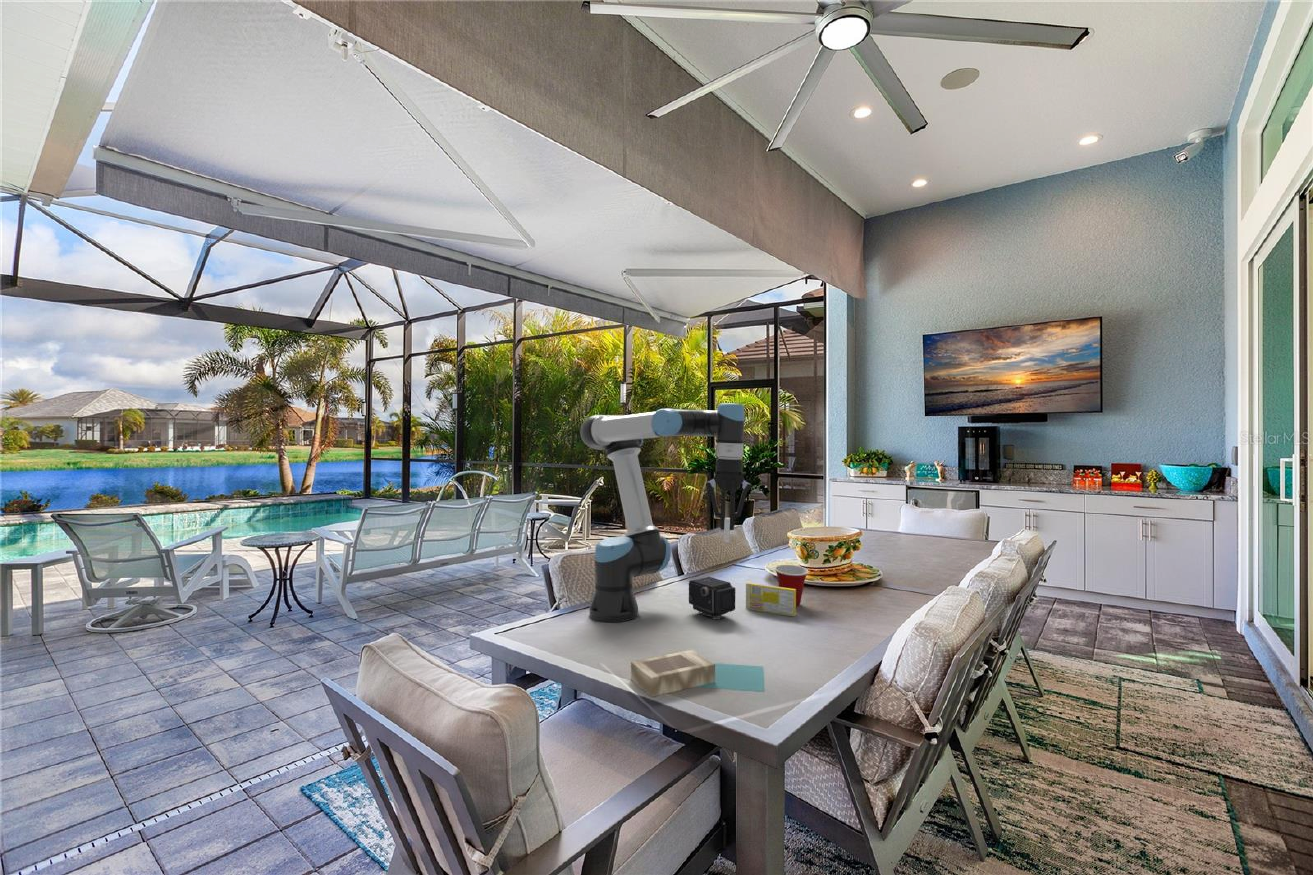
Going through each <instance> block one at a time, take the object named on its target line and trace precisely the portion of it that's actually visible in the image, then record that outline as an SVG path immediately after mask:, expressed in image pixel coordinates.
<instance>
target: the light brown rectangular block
mask: <svg viewBox="0 0 1313 875" xmlns="http://www.w3.org/2000/svg"><path fill="white" fill-rule="evenodd" d="M714 663H715V662H712V661H711V660H709V659H708V658H706V657H704V656H703V655H701V654H700V653H697V652H696V651H695V650H693V649H689V650H688V649H687V650H685V651H684V650H683V651H679V652H674V653H668V654H664V655H659V656H654V657H648V658H643V659H637V660H635V661H634V660H632V661H631V662H630V680H631V681H632V682H633V683H635V685H636V686H638V687H639V688H640V689H642V690H643V691H644V692H645V693H646V694H647V695H648V696H650V697H651V698H652V697H656V696H661V695H665V694H666V695H667V694H669V693H674V692H677V691H683V690H688V689H691V688H697V687H696V686H700V685H705V684H709V683H713V682H715V664H714Z"/></svg>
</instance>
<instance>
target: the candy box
mask: <svg viewBox="0 0 1313 875" xmlns="http://www.w3.org/2000/svg"><path fill="white" fill-rule="evenodd" d="M750 609H753V610H752V611H756V610H759V612H762V611H763V612H764V613H770V614H774V615H780V614H781V616H787V617H793V618H795V617H796V616H797V613H796V612H797V611H796V610H797V607H796V589H791V588H783V587H779V586H775V585H766V584H759V583H752V582H747V583H745V610H750Z"/></svg>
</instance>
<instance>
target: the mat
mask: <svg viewBox="0 0 1313 875" xmlns="http://www.w3.org/2000/svg"><path fill="white" fill-rule="evenodd" d="M713 663H714V664H715V682H713V683H709V684H705V685H700V686H696V687H695V688H705V689H720V690H721V689H723V690H733V691H735V690H736V691H745V692H746V691H749V692H760V693H761V692H762V693H763V692H764V693H765V677H764V676H765V672H764V666H763V665H750V664H749V665H748V664H746V665H745V664H744V665H743V664H733V663H732V664H731V663H716V662H713Z"/></svg>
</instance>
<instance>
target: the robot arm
mask: <svg viewBox="0 0 1313 875" xmlns="http://www.w3.org/2000/svg"><path fill="white" fill-rule="evenodd" d="M745 420H746V418H745V407H744V405H743V404H741V403H732V402H731V403H730V402H729V403H727V402H726V403H723V402H722V403H719V404H718V405H717V409H716V410H710V409H709V410H706V409H705V410H704V409H679V408H670V407H669V408H659V409H658V410H656V411H650V412H642V413H641V412H640V413H635V414H626V415H625V414H621V415H618V414H617V415H615V414H614V415H611V414H595V415H594V414H593V415H591V416H589V417H587V418H586V419H585V420H584V421H583V422H582V424H581V426H580V432H579V433H580V437H581V440H582V442H583V443H584V444H585V445H586V446H587V447H588V448H590V449H592V450H596V451H597V450H600V451H603V450H605V453H606V457H607V459H609V460H610V461H611V462H613V463H612V464H613V467H614V472H615V473H614V474H615V478H616V482H617V487H618V491H619V492H618V493H619V495H620V496H619V497H620V501H621V506H622V510H623V511H622V512H623V515H624V519H625V524H626V530H627V531H626V533H625V535H624V536H615V537H614V536H612V537H607V538H604V539H601V540H599V541H598V542H597V543H596V545H595V548H594V549H595V550H594V556H593V557H594V558H593V559H594V593H593V596H592V599H591V602H590V605H589V611H588V613H589V618H591V619H592V620H595V621H598V622H607V623H619V622H621V623H622V622H625V621H626V622H628V621H631V620H633V619H635V618H637V617H638V616H639V606H638V602H637V600H636V596H635V594H634V589H633V588H634V586H633V582H634V579H633V578H637V577H640V576H641V577H643V576H646V575H653V574H656V573H657V572H661V571H663V570H665V569H666V567H668V565H669V562H670V560H671V555H672V548H671V545H670V542H669V540H668V539H667V538H666V537H665V536H663V535H661V534H660V533H661V532H660V529H659V527H657V526H655V525H654V523H653V520H652V515H651V510H650V509H651V508H650V505H649V502H648V501H649V500H648V496H647V493H646V488H645V483H644V478H643V474H642V471H641V470H642V469H641V466H640V460H639V455H640V452H641V450H642V449H641V446H642V445H643V443H644V439H655V438H666V437H667V438H668V437H680V436H681V437H682V436H683V437H684V436H685V437H686V436H687V437H716V449H715V451H716V454H715V456H716V457H717V458H716V460H715V474H714V476H713V478H712V479H711V480H708V481H706V483H705V485H706V488H707V489H708V490H709V495H710V496H709V497H710V500H711V503H712V504H711V505H712V508H713V509H712V510H713V515H714V516H715V517H718V518H720V520H719V521H720V527H719V529H720V530H723V542H724V543H730V531H734V529H735V519H737V518H740V517H741V515H742V512H743V508H744V505H745V502H746V498H747V494H748V492H749V491H750V489H751V488H752V484H751V483H750V482H747V481H746V480H745V477H744V476H743V467H744V466H743V465H744V460H743V459H742V458H743V457H744V434H745ZM715 485H717V487H718V488H719V490H720V491H721V495H720V496H721V498H720V500H721V501H720V511H719V507H718V506H719V505H718V502H717V495H716V491H715ZM741 485H742V489H743V490H742V493H741V496H740V500H739V504H738V507H737V510H736V512H735V504H736V503H735V502H736V491H737V490H738V489H739V488H740V487H741ZM728 491H729V492H730V499H729V500H730V502H729V517H726V502H727V492H728Z"/></svg>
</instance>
